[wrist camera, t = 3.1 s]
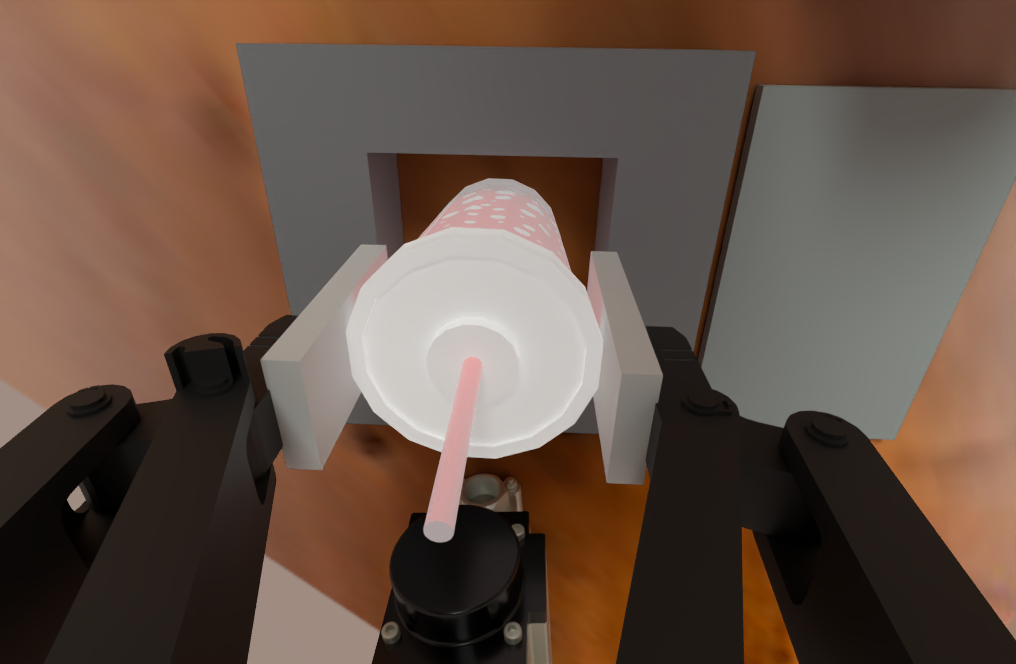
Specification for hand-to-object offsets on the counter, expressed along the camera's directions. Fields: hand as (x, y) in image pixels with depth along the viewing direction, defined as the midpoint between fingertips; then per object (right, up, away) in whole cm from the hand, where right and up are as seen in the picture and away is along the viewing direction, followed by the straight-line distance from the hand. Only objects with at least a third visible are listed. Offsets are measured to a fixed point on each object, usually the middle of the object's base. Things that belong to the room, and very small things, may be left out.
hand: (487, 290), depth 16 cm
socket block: (0, +2, +4) cm, 5 cm away
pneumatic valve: (0, -10, +11) cm, 15 cm away
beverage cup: (0, +2, +5) cm, 5 cm away
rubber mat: (+13, +1, +5) cm, 14 cm away
